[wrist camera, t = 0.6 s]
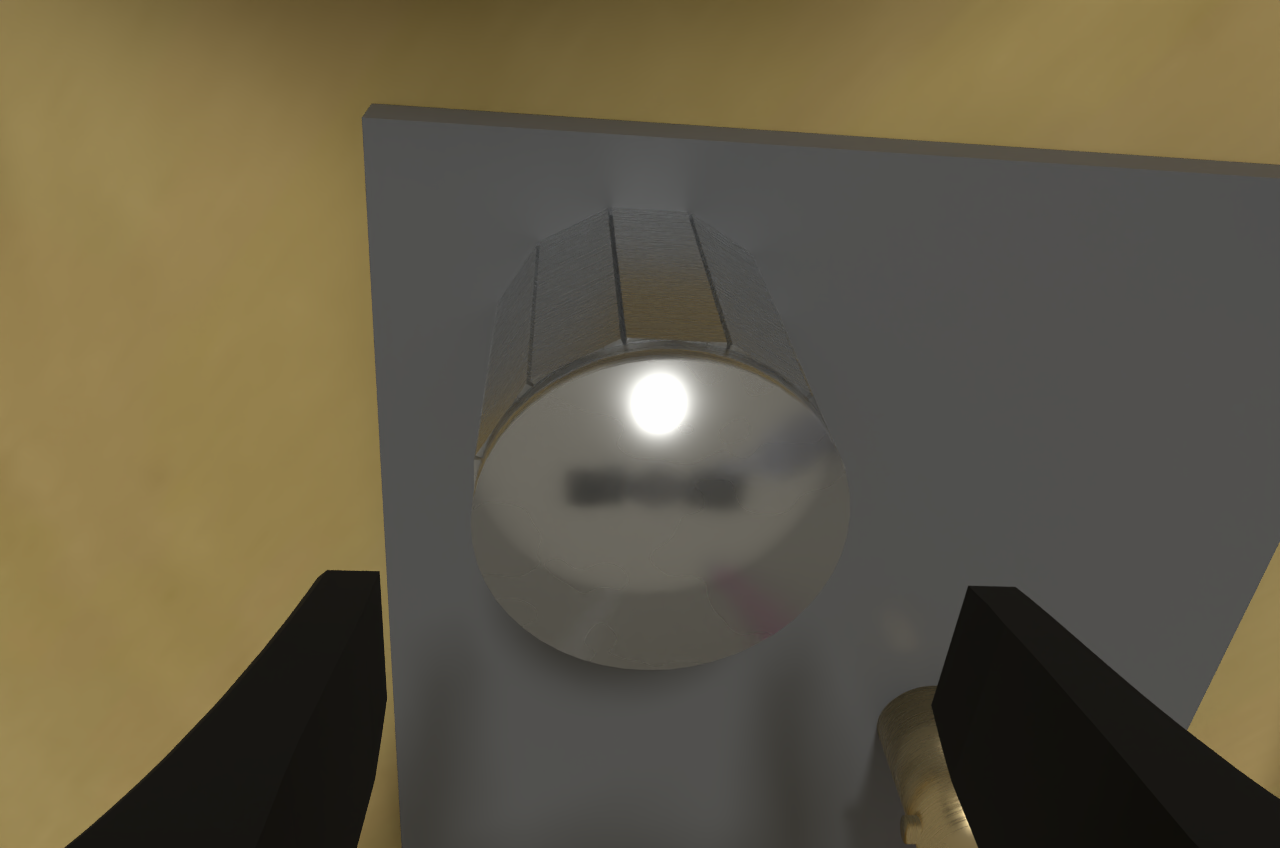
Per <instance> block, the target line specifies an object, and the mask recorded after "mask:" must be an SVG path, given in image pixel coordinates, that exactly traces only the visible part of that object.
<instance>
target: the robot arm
mask: <svg viewBox="0 0 1280 848" xmlns="http://www.w3.org/2000/svg"><path fill="white" fill-rule="evenodd" d="M386 702H387V690H386V673H385V656H384V639H383V622H382V605H381V588H380V571H341V570H327V571H325V572H324V573H323V574H322V575H320V576H319V577H318V578H317V579H316V581H315V582H314V584H313V585H312V586H311V588H310V589H309V591H308V592H307V593H306V595H305V596H304V597H303V599H302V600H301V601H300V603H299V604H298V605H297V607H296V608H295V609H294V611H293V612H292V613H291V615H290V616H289V617H288V619H287V620H286V621H285V622H284V624H283V625H282V626H281V628H280V629H279V630H278V631H277V633H276V634H275V635H274V636H273V638H272V639H271V640H270V641H269V643H268V644H267V645H266V646H265V648H264V649H263V650H262V651H261V652H260V654H259V655H258V656H257V657H256V658H255V659H254V661H253V662H252V663H251V664H250V665H249V666H248V668H247V669H246V670H245V671H244V672H243V673H242V675H241V676H240V677H239V678H238V679H237V680H236V682H235V683H234V684H233V685H232V686H231V687H230V689H229V690H228V691H227V692H226V693H225V694H224V696H223V697H222V698H221V699H220V700H219V701H218V702H217V703H216V704H215V706H214V707H213V708H212V709H211V710H210V711H209V712H208V713H207V714H206V715H205V716H204V717H203V718H202V719H201V720H200V721H199V722H198V723H197V724H196V725H195V727H194V728H193V729H192V730H191V731H190V732H189V733H188V734H187V735H186V736H185V737H184V738H183V739H182V740H181V741H180V742H179V743H178V744H177V745H176V746H175V747H174V749H173V750H172V751H171V752H170V753H169V754H168V755H167V756H166V757H165V758H164V759H163V760H162V761H161V762H160V763H159V764H158V765H157V766H156V767H154V768H153V769H152V770H151V771H150V772H149V773H148V774H147V775H146V776H145V777H144V778H143V779H142V780H141V781H140V782H139V783H138V784H137V785H136V786H135V787H134V788H132V789H131V790H130V791H129V792H128V793H127V794H126V795H125V796H124V797H123V798H122V799H120V800H119V801H118V802H117V803H116V804H115V805H114V806H113V807H112V808H110V809H109V810H108V811H107V812H106V813H105V814H104V815H103V816H101V817H100V818H99V819H98V820H97V821H96V822H95V823H94V824H92V825H91V826H90V827H89V828H88V829H87V830H85V831H84V832H83V833H82V834H81V835H79V836H78V837H77V838H76V839H74V840H73V841H72V842H71V843H70V844H68V845H67V846H66V847H65V848H357V845H358V841H359V838H360V834H361V830H362V826H363V822H364V819H365V815H366V811H367V807H368V804H369V800H370V796H371V792H372V788H373V784H374V781H375V776H376V769H377V763H378V757H379V750H380V744H381V737H382V730H383V723H384V716H385V709H386ZM931 706H932V710H933V714H934V718H935V722H936V726H937V730H938V734H939V738H940V742H941V746H942V750H943V754H944V757H945V761H946V764H947V768H948V771H949V775H950V778H951V782H952V784H953V787H954V789H955V792H956V794H957V797H958V800H959V802H960V804H961V807H962V809H963V812H964V814H965V817H966V819H967V822H968V824H969V827H970V829H971V832H972V834H973V836H974V839H975V841H976V844H977V846H978V848H1280V799H1279V798H1277V797H1276V796H1274V795H1273V794H1271V793H1270V792H1268V791H1267V790H1266V789H1264V788H1263V787H1261V786H1260V785H1259V784H1257V783H1256V782H1254V781H1253V780H1252V779H1250V778H1249V777H1247V776H1246V775H1245V774H1243V773H1242V772H1241V771H1239V770H1238V769H1236V768H1235V767H1234V766H1233V765H1231V764H1230V763H1229V762H1227V761H1226V760H1225V759H1223V758H1222V757H1221V756H1219V755H1218V754H1217V753H1215V752H1214V751H1213V750H1212V749H1210V748H1209V747H1208V746H1206V745H1205V744H1204V743H1202V742H1201V741H1200V740H1198V739H1197V738H1196V737H1195V736H1193V735H1192V734H1191V733H1189V732H1188V731H1187V730H1186V729H1184V728H1183V727H1182V726H1181V725H1179V724H1178V723H1177V722H1176V721H1174V720H1173V719H1172V718H1171V717H1169V716H1168V715H1167V714H1166V713H1164V712H1163V711H1162V710H1161V709H1159V708H1158V707H1157V706H1156V705H1155V704H1153V703H1152V702H1151V701H1150V700H1149V699H1147V698H1146V697H1145V696H1144V695H1143V694H1141V693H1140V692H1139V691H1138V690H1137V689H1135V688H1134V687H1133V686H1132V685H1131V684H1129V683H1128V682H1127V681H1126V680H1125V679H1124V678H1122V677H1121V676H1120V675H1119V674H1118V673H1117V672H1115V671H1114V670H1113V669H1112V668H1111V667H1110V666H1108V665H1107V664H1106V663H1105V662H1104V661H1103V660H1101V659H1100V658H1099V657H1098V656H1097V655H1096V654H1094V653H1093V652H1092V651H1091V650H1090V649H1089V648H1088V647H1086V646H1085V645H1084V644H1083V643H1082V642H1081V641H1079V640H1078V639H1077V638H1076V637H1075V636H1074V635H1073V634H1071V633H1070V632H1069V631H1068V630H1067V629H1066V628H1064V627H1063V626H1062V625H1061V624H1060V623H1059V622H1058V621H1056V620H1055V619H1054V618H1053V617H1052V616H1051V615H1049V614H1048V613H1047V612H1046V611H1045V610H1043V609H1042V608H1041V607H1040V606H1039V605H1038V604H1036V603H1035V602H1034V601H1033V600H1031V599H1030V598H1029V597H1028V596H1026V595H1025V594H1024V593H1023V592H1021V591H1020V590H1019V589H1018V588H1016V587H1005V586H968V588H967V591H966V594H965V598H964V601H963V604H962V607H961V610H960V614H959V617H958V620H957V623H956V627H955V630H954V633H953V636H952V640H951V643H950V646H949V649H948V652H947V656H946V659H945V662H944V665H943V669H942V672H941V675H940V678H939V682H938V685H937V688H936V691H935V695H934V698H933V701H932V704H931Z"/></svg>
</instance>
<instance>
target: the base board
mask: <svg viewBox="0 0 1280 848" xmlns="http://www.w3.org/2000/svg"><path fill="white" fill-rule="evenodd" d="M362 128H363V146H364V164H365V183H366V201H367V219H368V238H369V256H370V274H371V293H372V311H373V329H374V348H375V366H376V384H377V403H378V421H379V439H380V458H381V476H382V494H383V513H384V531H385V549H386V567H387V586H388V604H389V622H390V641H391V659H392V677H393V696H394V714H395V732H396V751H397V769H398V787H399V806H400V824H401V842H402V848H917V847H916V844H904V842H903V840H902V838H901V833H900V820H901V817H902V815H905V812H904V809H903V806H902V803H901V800H900V797H899V794H898V791H897V788H896V786H895V783H894V780H893V777H892V774H891V771H890V768H889V765H888V762H887V759H886V756H885V753H884V750H883V747H882V744H881V741H880V739H879V736H878V732H877V722H878V719H879V716H880V714H881V712H882V711H883V709H884V708H885V707H886V706H887V705H888V704H889V703H890V702H891V701H892V700H893V699H895V698H896V697H898V696H899V695H901V694H903V693H905V692H907V691H909V690H912V689H915V688H919V687H925V686H937V685H938V682H939V678H940V675H941V672H942V669H943V665H944V662H945V659H946V656H947V652H948V649H949V646H950V643H951V640H952V636H953V633H954V630H955V627H956V623H957V620H958V617H959V614H960V610H961V607H962V604H963V601H964V598H965V594H966V591H967V588H968V586H1005V587H1016V588H1018V589H1019V590H1020V591H1021V592H1023V593H1024V594H1025V595H1026V596H1028V597H1029V598H1030V599H1031V600H1033V601H1034V602H1035V603H1036V604H1038V605H1039V606H1040V607H1041V608H1042V609H1043V610H1045V611H1046V612H1047V613H1048V614H1049V615H1051V616H1052V617H1053V618H1054V619H1055V620H1056V621H1058V622H1059V623H1060V624H1061V625H1062V626H1063V627H1064V628H1066V629H1067V630H1068V631H1069V632H1070V633H1071V634H1073V635H1074V636H1075V637H1076V638H1077V639H1078V640H1079V641H1081V642H1082V643H1083V644H1084V645H1085V646H1086V647H1088V648H1089V649H1090V650H1091V651H1092V652H1093V653H1094V654H1096V655H1097V656H1098V657H1099V658H1100V659H1101V660H1103V661H1104V662H1105V663H1106V664H1107V665H1108V666H1110V667H1111V668H1112V669H1113V670H1114V671H1115V672H1117V673H1118V674H1119V675H1120V676H1121V677H1122V678H1124V679H1125V680H1126V681H1127V682H1128V683H1129V684H1131V685H1132V686H1133V687H1134V688H1135V689H1137V690H1138V691H1139V692H1140V693H1141V694H1143V695H1144V696H1145V697H1146V698H1147V699H1149V700H1150V701H1151V702H1152V703H1153V704H1155V705H1156V706H1157V707H1158V708H1159V709H1161V710H1162V711H1163V712H1164V713H1166V714H1167V715H1168V716H1169V717H1171V718H1172V719H1173V720H1174V721H1176V722H1177V723H1178V724H1179V725H1181V726H1182V727H1183V728H1184V729H1186V730H1187V729H1188V727H1189V725H1190V723H1191V721H1192V719H1193V717H1194V715H1195V713H1196V711H1197V709H1198V707H1199V705H1200V703H1201V701H1202V699H1203V697H1204V695H1205V693H1206V691H1207V689H1208V687H1209V685H1210V682H1211V680H1212V678H1213V676H1214V674H1215V672H1216V670H1217V668H1218V666H1219V664H1220V662H1221V660H1222V658H1223V656H1224V654H1225V652H1226V650H1227V648H1228V646H1229V644H1230V642H1231V640H1232V638H1233V636H1234V634H1235V632H1236V630H1237V628H1238V625H1239V623H1240V621H1241V619H1242V617H1243V615H1244V613H1245V611H1246V609H1247V607H1248V605H1249V603H1250V601H1251V599H1252V597H1253V595H1254V593H1255V591H1256V589H1257V587H1258V585H1259V583H1260V581H1261V579H1262V577H1263V575H1264V573H1265V571H1266V569H1267V566H1268V564H1269V562H1270V560H1271V558H1272V556H1273V554H1274V552H1275V550H1276V548H1277V546H1278V544H1279V542H1280V165H1272V164H1257V163H1243V162H1228V161H1213V160H1198V159H1184V158H1169V157H1154V156H1139V155H1124V154H1110V153H1095V152H1080V151H1065V150H1050V149H1036V148H1021V147H1006V146H991V145H977V144H962V143H947V142H932V141H917V140H903V139H888V138H873V137H858V136H843V135H829V134H814V133H799V132H784V131H770V130H755V129H740V128H725V127H710V126H696V125H681V124H666V123H651V122H636V121H622V120H607V119H592V118H577V117H563V116H548V115H533V114H518V113H503V112H489V111H474V110H459V109H444V108H429V107H415V106H400V105H385V104H371V105H370V107H369V108H368V110H367V111H366V113H365V114H364V115H363V117H362ZM612 207H615V208H632V209H649V210H666V211H682V212H687V213H688V216H690V215H691V213H692V214H693V215H695V216H696V217H698V218H699V219H701V220H702V221H704V222H705V223H707V224H708V225H710V226H711V227H713V228H714V229H716V230H717V231H719V232H720V233H722V234H723V235H725V236H727V237H728V238H730V239H731V240H733V241H734V242H736V243H737V244H739V245H740V246H742V247H743V248H745V249H746V250H748V251H749V252H751V255H752V256H754V258H755V261H756V263H757V265H758V267H759V270H760V272H761V274H762V277H763V279H764V281H765V283H766V286H767V288H768V290H769V292H770V295H771V297H772V299H773V301H774V304H775V306H776V308H777V310H778V313H779V315H780V317H781V320H782V322H783V324H784V327H785V329H786V331H787V334H788V336H789V338H790V341H791V343H792V345H793V348H794V350H795V352H796V354H797V357H798V359H799V361H800V364H801V366H802V368H803V371H804V373H805V375H806V378H807V380H808V382H809V385H810V387H811V389H812V392H813V394H814V396H815V399H816V401H817V403H818V406H819V408H820V410H821V413H822V415H823V417H824V420H825V422H826V424H827V427H828V429H829V431H830V434H831V436H832V438H833V441H834V443H835V445H836V448H837V450H838V452H839V454H840V457H841V459H842V461H843V464H844V466H845V468H846V469H844V470H845V472H846V476H847V482H848V487H849V493H850V519H849V526H848V533H847V537H846V541H845V544H844V547H843V551H842V554H841V556H840V558H839V560H838V563H837V565H836V567H835V569H834V571H833V573H832V575H831V576H830V578H829V579H828V581H827V582H826V584H825V585H824V587H823V589H822V590H821V591H820V593H819V594H818V595H817V596H816V597H815V598H814V600H813V601H812V602H811V603H810V604H809V605H808V607H807V608H805V609H804V610H803V611H802V612H801V613H800V614H799V615H798V616H797V617H796V618H795V619H794V620H793V621H791V622H790V623H789V624H787V625H786V626H785V627H783V628H782V629H780V630H779V631H778V632H776V633H775V634H774V635H772V636H770V637H768V638H767V639H765V640H763V641H761V642H760V643H758V644H756V645H754V646H752V647H750V648H748V649H746V650H743V651H741V652H739V653H737V654H734V655H731V656H728V657H725V658H722V659H719V660H716V661H713V662H709V663H705V664H700V665H696V666H691V667H684V668H676V669H667V670H637V669H623V668H617V667H611V666H605V665H600V664H597V663H593V662H589V661H586V660H582V659H579V658H577V657H574V656H571V655H569V654H566V653H564V652H561V651H559V650H557V649H556V648H554V647H552V646H550V645H548V644H546V643H544V642H542V641H541V640H539V639H538V638H536V637H535V636H534V635H532V634H531V633H529V632H528V631H526V630H525V629H524V628H523V627H522V626H520V625H519V624H518V623H517V622H516V621H515V620H514V619H513V618H512V617H511V616H509V615H508V613H507V612H506V611H505V610H504V609H503V607H502V606H501V605H500V604H499V603H498V601H497V600H496V599H495V597H494V596H493V594H492V592H491V591H490V589H489V588H488V586H487V584H486V583H485V581H484V578H483V576H482V574H481V571H480V569H479V567H478V564H477V561H476V557H475V553H474V549H473V545H472V534H471V513H472V502H473V495H474V457H475V450H476V443H477V437H478V430H479V423H480V417H481V410H482V403H483V396H484V390H485V383H486V376H487V370H488V363H489V356H490V349H491V343H492V336H493V329H494V322H495V316H496V309H497V305H498V301H499V300H500V298H501V297H502V295H503V294H504V292H505V291H506V289H507V288H508V286H509V285H510V283H511V282H512V280H513V279H514V277H515V276H516V274H517V273H518V271H519V270H520V268H521V266H522V265H523V263H524V262H525V260H526V259H527V257H528V256H529V254H530V253H531V251H532V250H533V248H534V247H535V245H536V244H538V245H540V240H542V239H545V238H547V237H549V236H551V235H553V234H555V233H557V232H559V231H561V230H563V229H565V228H567V227H569V226H572V225H574V224H576V223H578V222H580V221H582V220H584V219H586V218H588V217H590V216H592V215H594V214H596V213H598V212H601V211H603V210H605V209H608V211H609V212H610V214H611V213H612Z"/></svg>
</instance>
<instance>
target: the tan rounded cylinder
mask: <svg viewBox="0 0 1280 848" xmlns="http://www.w3.org/2000/svg"><path fill="white" fill-rule="evenodd" d="M936 688H937V686H925V687H919V688H915V689H912V690H909V691H907V692H905V693H903V694H901V695H899V696H898V697H896V698H895V699H893V700H892V701H891V702H890V703H889V704H888V705H887V706H886V707H885V708H884V709H883V711H882V712H881V714H880V716H879V719H878V722H877V732H878V736H879V739H880V741H881V744H882V747H883V750H884V753H885V756H886V759H887V762H888V765H889V768H890V771H891V774H892V777H893V780H894V783H895V786H896V788H897V791H898V794H899V797H900V800H901V803H902V806H903V809H904V812H905V815H902V817H901V820H900V833H901V838H902V840H903V842H904V844H916V847H917V848H978V846H977V844H976V841H975V839H974V836H973V834H972V832H971V829H970V827H969V824H968V822H967V819H966V817H965V814H964V812H963V809H962V807H961V804H960V802H959V800H958V797H957V794H956V792H955V789H954V787H953V784H952V782H951V778H950V775H949V771H948V768H947V764H946V761H945V757H944V754H943V750H942V746H941V742H940V738H939V734H938V730H937V726H936V722H935V718H934V714H933V710H932V706H931V704H932V701H933V698H934V695H935V691H936Z"/></svg>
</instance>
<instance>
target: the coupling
mask: <svg viewBox="0 0 1280 848" xmlns="http://www.w3.org/2000/svg"><path fill="white" fill-rule="evenodd" d="M844 469H846V468H845V466H844V464H843V461H842V459H841V457H840V454H839V452H838V450H837V448H836V445H835V443H834V441H833V438H832V436H831V434H830V431H829V429H828V427H827V424H826V422H825V420H824V417H823V415H822V413H821V410H820V408H819V406H818V403H817V401H816V399H815V396H814V394H813V392H812V389H811V387H810V385H809V382H808V380H807V378H806V375H805V373H804V371H803V368H802V366H801V364H800V361H799V359H798V357H797V354H796V352H795V350H794V348H793V345H792V343H791V341H790V338H789V336H788V334H787V331H786V329H785V327H784V324H783V322H782V320H781V317H780V315H779V313H778V310H777V308H776V306H775V304H774V301H773V299H772V297H771V295H770V292H769V290H768V288H767V286H766V283H765V281H764V279H763V277H762V274H761V272H760V270H759V267H758V265H757V263H756V261H755V258H754V256H752V255H751V252H749V251H748V250H746V249H745V248H743V247H742V246H740V245H739V244H737V243H736V242H734V241H733V240H731V239H730V238H728V237H727V236H725V235H723V234H722V233H720V232H719V231H717V230H716V229H714V228H713V227H711V226H710V225H708V224H707V223H705V222H704V221H702V220H701V219H699V218H698V217H696V216H695V215H693V214H692V213H691V215H690V216H688V213H687V212H682V211H666V210H649V209H632V208H615V207H612V213H611V214H610V212H609V211H608V209H605V210H603V211H601V212H598V213H596V214H594V215H592V216H590V217H588V218H586V219H584V220H582V221H580V222H578V223H576V224H574V225H572V226H569V227H567V228H565V229H563V230H561V231H559V232H557V233H555V234H553V235H551V236H549V237H547V238H545V239H542V240H540V245H538V244H536V245H535V247H534V248H533V250H532V251H531V253H530V254H529V256H528V257H527V259H526V260H525V262H524V263H523V265H522V266H521V268H520V270H519V271H518V273H517V274H516V276H515V277H514V279H513V280H512V282H511V283H510V285H509V286H508V288H507V289H506V291H505V292H504V294H503V295H502V297H501V298H500V300H499V301H498V305H497V309H496V316H495V322H494V329H493V336H492V343H491V349H490V356H489V363H488V370H487V376H486V383H485V390H484V396H483V403H482V410H481V417H480V423H479V430H478V437H477V443H476V450H475V457H474V495H473V502H472V513H471V534H472V545H473V549H474V553H475V557H476V561H477V564H478V567H479V569H480V571H481V574H482V576H483V578H484V581H485V583H486V584H487V586H488V588H489V589H490V591H491V592H492V594H493V596H494V597H495V599H496V600H497V601H498V603H499V604H500V605H501V606H502V607H503V609H504V610H505V611H506V612H507V613H508V615H509V616H511V617H512V618H513V619H514V620H515V621H516V622H517V623H518V624H519V625H520V626H522V627H523V628H524V629H525V630H526V631H528V632H529V633H531V634H532V635H534V636H535V637H536V638H538V639H539V640H541V641H542V642H544V643H546V644H548V645H550V646H552V647H554V648H556V649H557V650H559V651H561V652H564V653H566V654H569V655H571V656H574V657H577V658H579V659H582V660H586V661H589V662H593V663H597V664H600V665H605V666H611V667H617V668H623V669H637V670H667V669H676V668H684V667H691V666H696V665H700V664H705V663H709V662H713V661H716V660H719V659H722V658H725V657H728V656H731V655H734V654H737V653H739V652H741V651H743V650H746V649H748V648H750V647H752V646H754V645H756V644H758V643H760V642H761V641H763V640H765V639H767V638H768V637H770V636H772V635H774V634H775V633H776V632H778V631H779V630H780V629H782V628H783V627H785V626H786V625H787V624H789V623H790V622H791V621H793V620H794V619H795V618H796V617H797V616H798V615H799V614H800V613H801V612H802V611H803V610H804V609H805V608H807V607H808V605H809V604H810V603H811V602H812V601H813V600H814V598H815V597H816V596H817V595H818V594H819V593H820V591H821V590H822V589H823V587H824V585H825V584H826V582H827V581H828V579H829V578H830V576H831V575H832V573H833V571H834V569H835V567H836V565H837V563H838V560H839V558H840V556H841V554H842V551H843V547H844V544H845V541H846V537H847V533H848V526H849V519H850V493H849V487H848V482H847V476H846V472H845V470H844Z"/></svg>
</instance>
